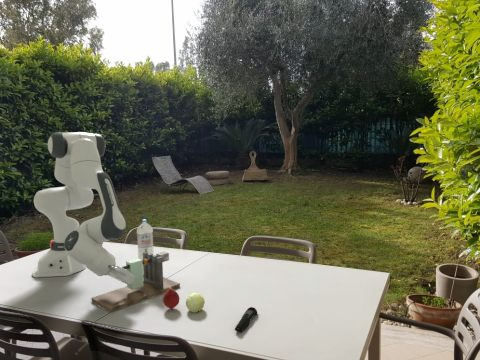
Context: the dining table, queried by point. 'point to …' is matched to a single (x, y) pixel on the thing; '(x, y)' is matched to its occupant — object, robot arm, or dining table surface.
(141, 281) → the sleeve
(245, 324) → the electric trimmer
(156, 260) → the cord rig
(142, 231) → the water bottle
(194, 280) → the dining table surface
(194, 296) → the tennis ball
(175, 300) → the onion
